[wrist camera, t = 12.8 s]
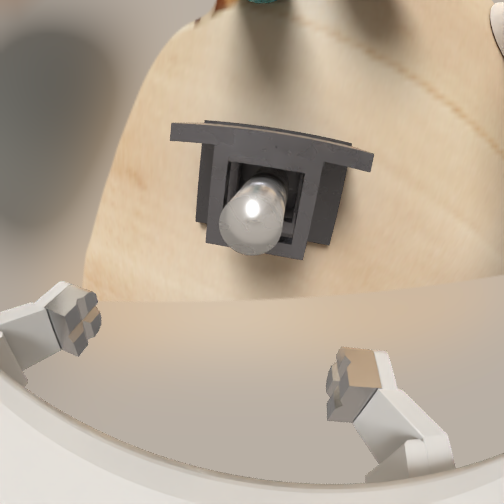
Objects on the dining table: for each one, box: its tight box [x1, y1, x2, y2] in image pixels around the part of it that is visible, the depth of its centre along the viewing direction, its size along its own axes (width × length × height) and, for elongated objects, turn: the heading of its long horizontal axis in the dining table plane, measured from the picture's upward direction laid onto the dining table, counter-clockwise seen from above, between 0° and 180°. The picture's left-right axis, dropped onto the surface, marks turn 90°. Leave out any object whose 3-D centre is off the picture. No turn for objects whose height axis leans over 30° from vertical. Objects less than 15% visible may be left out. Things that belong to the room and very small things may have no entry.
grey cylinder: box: [219, 166, 289, 255], centre depth 24 cm, size 4×4×14 cm
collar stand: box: [170, 120, 374, 260], centre depth 27 cm, size 16×12×10 cm
